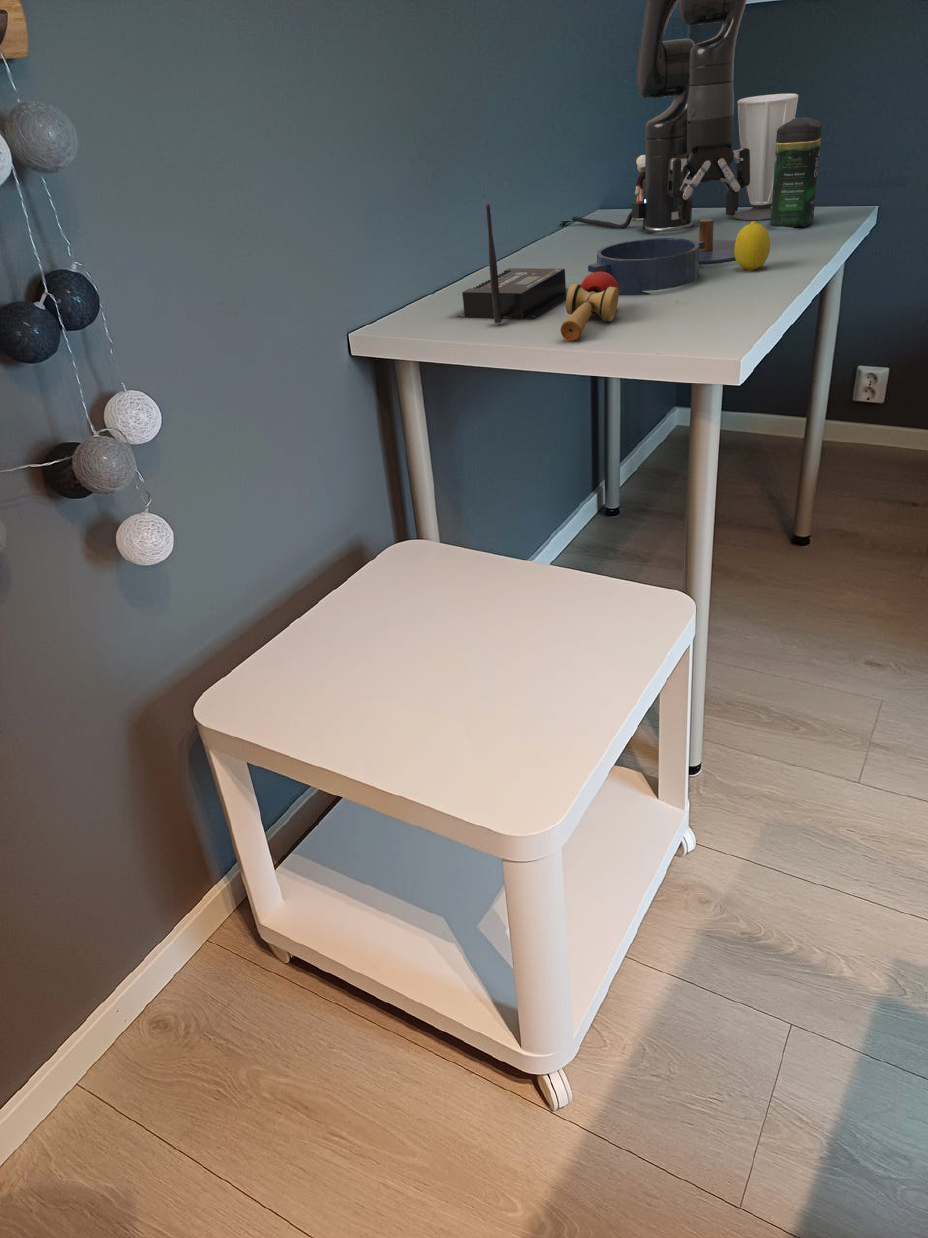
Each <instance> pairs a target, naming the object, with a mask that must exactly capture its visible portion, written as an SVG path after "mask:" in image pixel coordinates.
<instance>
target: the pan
mask: <svg viewBox="0 0 928 1238" xmlns="http://www.w3.org/2000/svg"><path fill="white" fill-rule="evenodd" d="M703 248H705V242H702V241H699V240H692V239H685V238H674V237H662V238H661V237H660V238H659V237H658V238H644V239H643V238H642V239H633V240H628V241H621V242H617V243H612V244H610V245H607V246H605V247H601V248H600V249H599V250H597V252H596V262H595V263H591V264H588V265H587V272H590V273H594V272H606V273H609V274H610V275H612V276H613V277H614V278H615V280H616V281H617V283H618V286H619V295H623V296H624V295H627V296H630V295H631V296H636V295H637V296H642V295H651V293H650V291H661V290H665V289H666V290H668V289H673V288H677V287H682V286H685V285H688V284H691V283H693V282H695V281H696V280H697V279H699V277H700V275H699V274H700V264H699V249H703Z"/></svg>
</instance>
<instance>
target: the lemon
mask: <svg viewBox="0 0 928 1238" xmlns="http://www.w3.org/2000/svg"><path fill="white" fill-rule="evenodd" d="M735 240H736V241H735V247H734V253H735V259H736V260H735V261H736V263H737V265H738V266H739V267H740V268H742V269H744V270H746V271H748V272H753V271H756V270H757V269H758V268H761V267H762V266H763V265H764V264H765V263H766V262H767V260H768V257H769V254H770V252H771V251H770V250H771V240H770V234H769V232H768V230H767V229H766V227H764V226H763V225H762V224H760V223H757V220H751V221H750V222H749V224H745V225H744V226H743V227H742V228H741V229H740V231H738V233H737V235H736V238H735Z"/></svg>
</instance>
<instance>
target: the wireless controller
mask: <svg viewBox="0 0 928 1238" xmlns="http://www.w3.org/2000/svg"><path fill="white" fill-rule="evenodd" d="M485 211H486V221H487V234H488V266H489V276H490V277H489V278H490V279H487V280H485V281H484V282H481V283H480V284H478V285H476V286H473V287H472V288H470V287H469V288H467V289H466V290H464V291H462V293H461V295H462V303H463V311H462V312H460V313H458V314H457V315H456V317H457V318H482V319H493V321H494V324H500V323H502V322H503V321H502V320H503V319H510V320H511V319H512V320H513V319H514V320H535V319H538V317H540V316H542V315H544V314H545V313H546V312H548V311H550V310H552V309H553V308H555V307H556V306H558V305H559V304H561V303H562V302H564V301H566V298H567V293H568V291H567V287H566V286H567V285H566V284H567V283H566V282H567V281H566V268H535V267H534V268H531V267H530V268H525V267H524V268H522V267H521V268H519V267H518V268H515V267H514V268H513V267H512V268H511V267H510V268H509V267H508V268H506V269H505V270H503V272H501V273H498V263H497V256H496V248H495V242H494V236H493V235H494V234H493V226H492V213H491V205H490V204H489V203H487V204H486V205H485Z"/></svg>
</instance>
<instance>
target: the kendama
mask: <svg viewBox="0 0 928 1238" xmlns="http://www.w3.org/2000/svg"><path fill="white" fill-rule="evenodd" d="M567 292H568V293H567V295H566V296H567V298H566V300H565V311H566V313H567V315H569V317H568V318H566V320H565V321H563V322H562V324H561V326H560V334H561V337H562V338H563V339H564V340H565V341H568V342H575V341H577V340H579V339H580V338H581V335H582V333H583V330H584V329H585V327H586V325H587V323H588V321H589V318H590V316H591V314H593V315H595V314H597V315H599V317H600V318H601V319H602V321H605V322H612V321H613V320H614V318H615V316H616V313H617V310H618V305H619V295H620V294H619V286H618V283H617V281H616V280H615V278H614V277H613V276H612V275H610V274H609V273H606V272H594V273H593V272H590V273H589V274H588V275H586V277H584V279H583V280H582V281H581V283H571V284H570V285H569V287H568V291H567Z"/></svg>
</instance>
